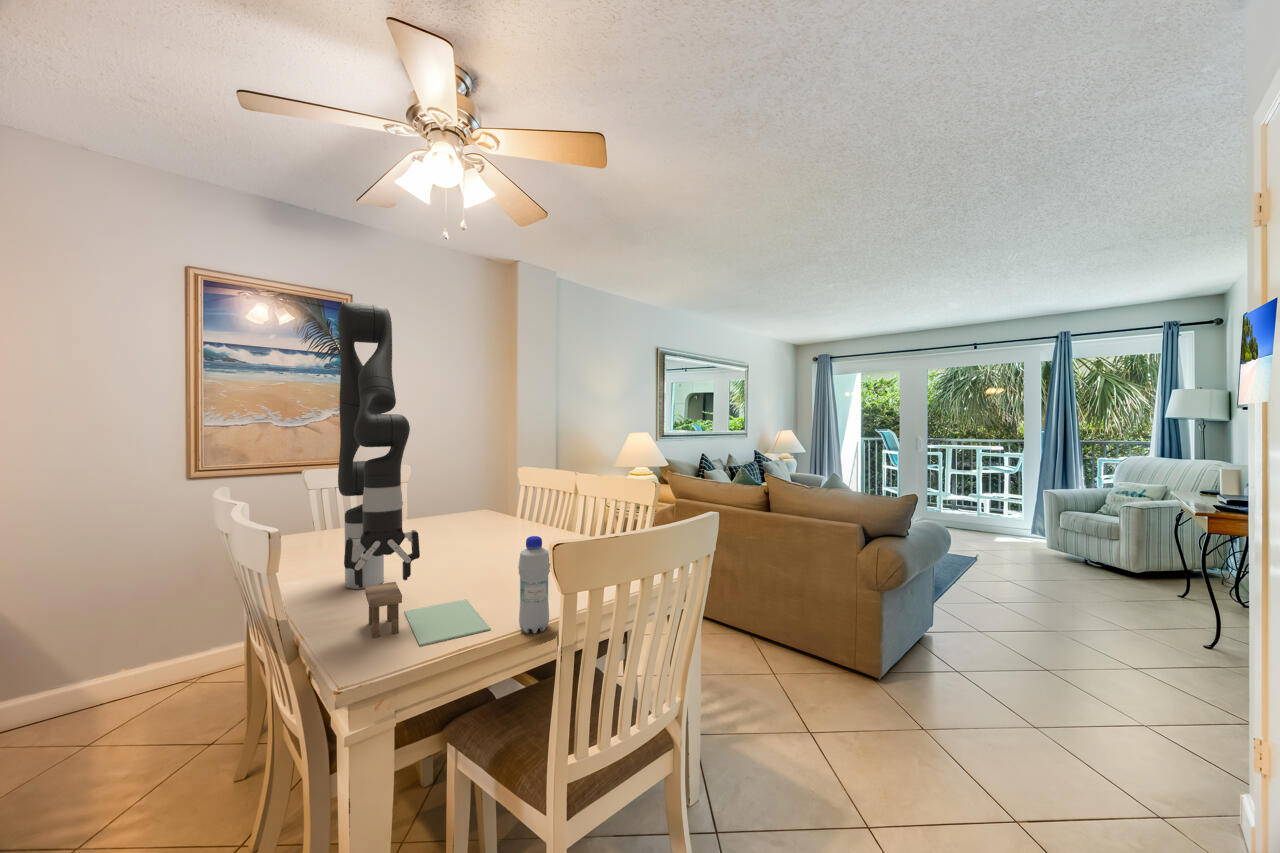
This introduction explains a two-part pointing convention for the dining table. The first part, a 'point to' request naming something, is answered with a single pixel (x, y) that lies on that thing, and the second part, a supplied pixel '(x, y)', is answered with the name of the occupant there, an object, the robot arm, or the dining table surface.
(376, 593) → the stool
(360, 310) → the robot arm
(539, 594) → the bottle
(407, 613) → the mat
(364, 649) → the dining table surface
